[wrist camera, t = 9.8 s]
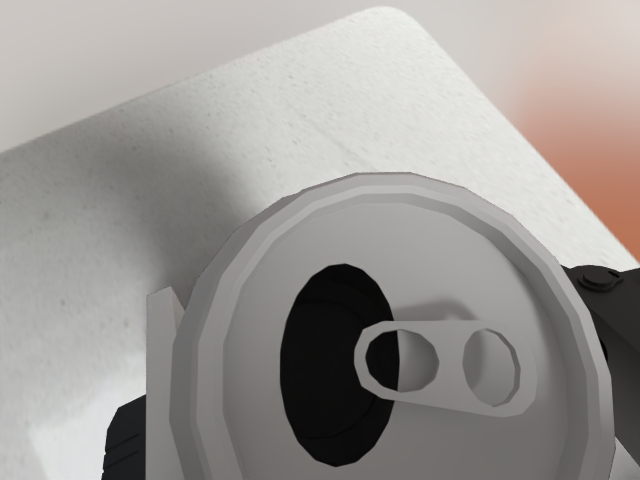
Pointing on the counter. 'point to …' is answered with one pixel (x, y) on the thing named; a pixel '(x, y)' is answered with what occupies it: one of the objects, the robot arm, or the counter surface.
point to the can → (388, 345)
